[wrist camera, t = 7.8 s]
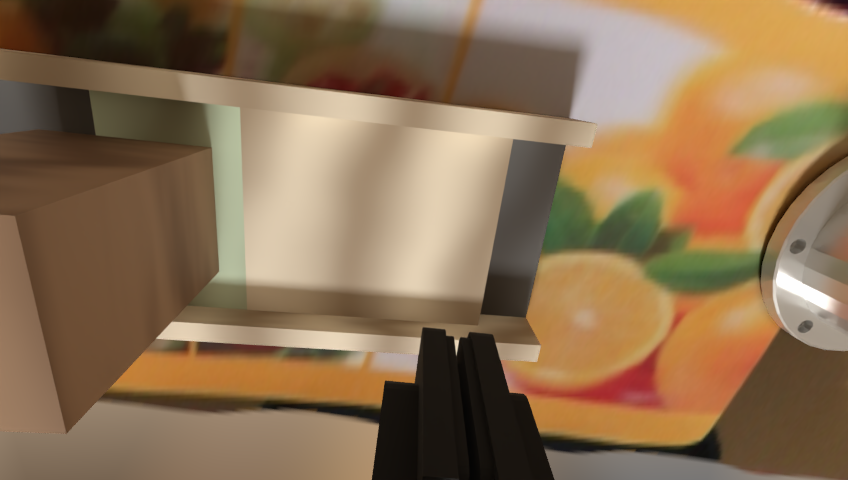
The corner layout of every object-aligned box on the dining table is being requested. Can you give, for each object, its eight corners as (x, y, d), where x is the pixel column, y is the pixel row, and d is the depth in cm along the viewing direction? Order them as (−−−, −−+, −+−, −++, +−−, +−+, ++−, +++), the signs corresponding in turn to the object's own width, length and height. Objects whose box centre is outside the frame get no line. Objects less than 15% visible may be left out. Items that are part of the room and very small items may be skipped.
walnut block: (211, 147, 18) (14, 215, 9) (219, 271, 20) (66, 433, 11) (38, 129, 17) (-376, 182, 8) (64, 259, 19) (-241, 421, 10)
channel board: (569, 118, 20) (603, 125, 17) (520, 329, 24) (539, 368, 21) (-70, 40, 17) (-179, 29, 14) (-2, 293, 21) (-74, 331, 18)
